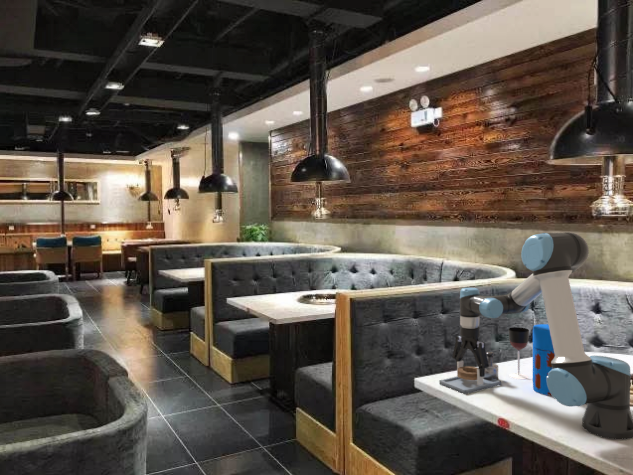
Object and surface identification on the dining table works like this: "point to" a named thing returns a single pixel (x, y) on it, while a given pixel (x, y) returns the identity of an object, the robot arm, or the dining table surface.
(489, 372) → the metal peg stand
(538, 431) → the dining table surface
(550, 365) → the thermos
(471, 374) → the ring
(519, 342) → the wineglass
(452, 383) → the tray
